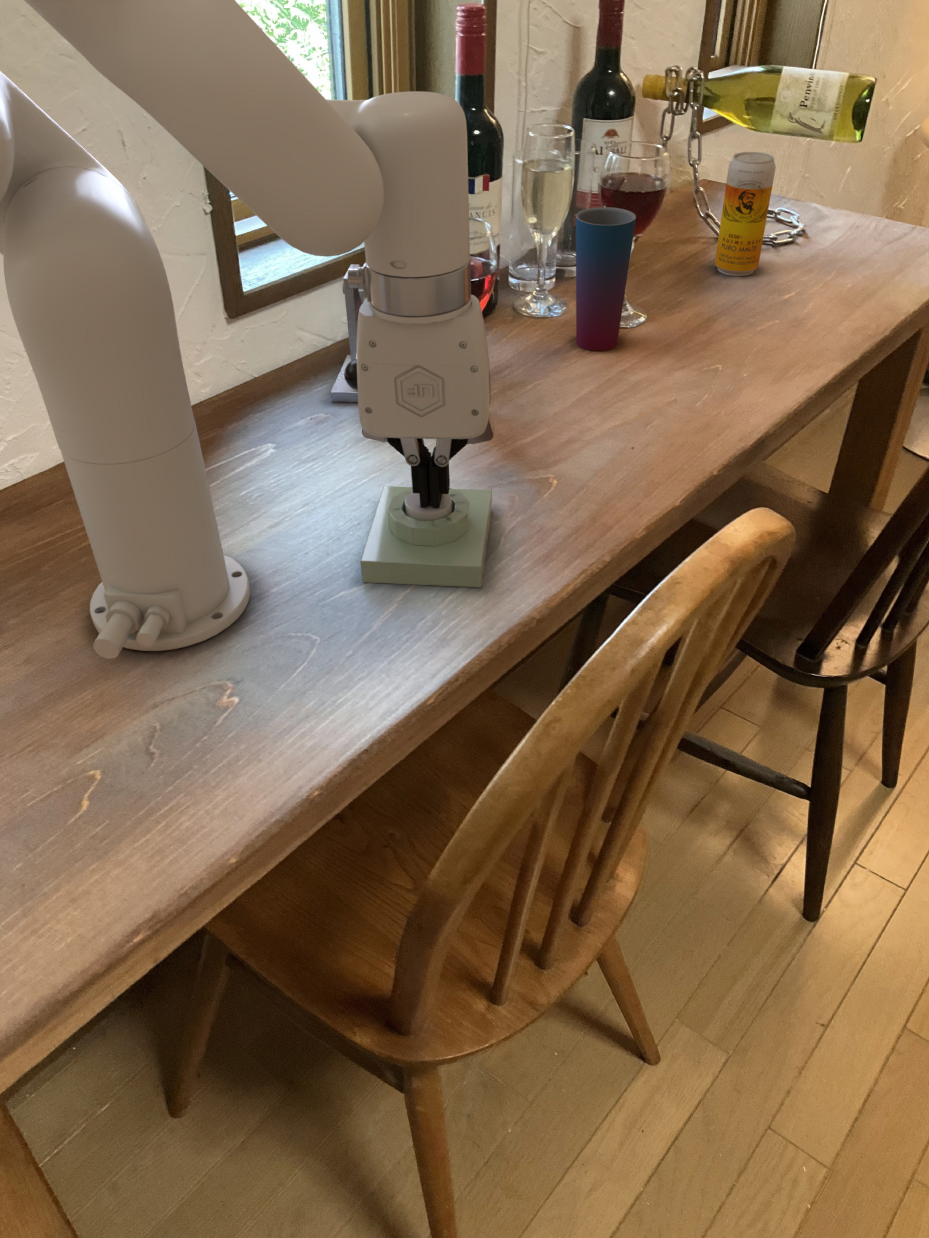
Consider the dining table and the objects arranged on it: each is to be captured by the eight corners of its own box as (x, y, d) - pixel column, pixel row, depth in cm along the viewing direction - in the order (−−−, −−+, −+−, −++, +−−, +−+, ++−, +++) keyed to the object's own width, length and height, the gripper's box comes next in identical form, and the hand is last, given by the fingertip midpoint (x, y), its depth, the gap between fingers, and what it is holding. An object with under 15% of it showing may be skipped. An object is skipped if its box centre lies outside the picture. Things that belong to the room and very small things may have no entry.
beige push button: (449, 531, 81) (449, 513, 80) (402, 529, 81) (401, 511, 80) (454, 506, 84) (454, 488, 83) (409, 504, 85) (408, 487, 83)
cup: (627, 354, 115) (639, 224, 106) (570, 354, 116) (577, 225, 106) (621, 331, 121) (632, 206, 111) (567, 332, 121) (573, 207, 111)
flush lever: (375, 396, 100) (370, 378, 97) (345, 396, 101) (339, 378, 98) (389, 287, 105) (385, 267, 102) (360, 287, 105) (355, 267, 102)
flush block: (481, 588, 80) (480, 548, 77) (362, 582, 80) (358, 543, 78) (492, 510, 89) (492, 472, 86) (385, 506, 90) (382, 468, 87)
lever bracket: (411, 404, 106) (405, 289, 98) (331, 401, 107) (318, 287, 99) (423, 366, 114) (418, 256, 106) (348, 364, 114) (337, 255, 106)
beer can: (714, 276, 135) (731, 162, 126) (713, 262, 140) (729, 150, 131) (758, 278, 135) (779, 163, 125) (755, 263, 139) (775, 151, 130)
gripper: (308, 304, 68) (337, 521, 80) (518, 306, 67) (517, 526, 78) (329, 267, 74) (353, 474, 85) (524, 268, 72) (521, 479, 84)
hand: (432, 499), depth 82 cm, fingers closed
